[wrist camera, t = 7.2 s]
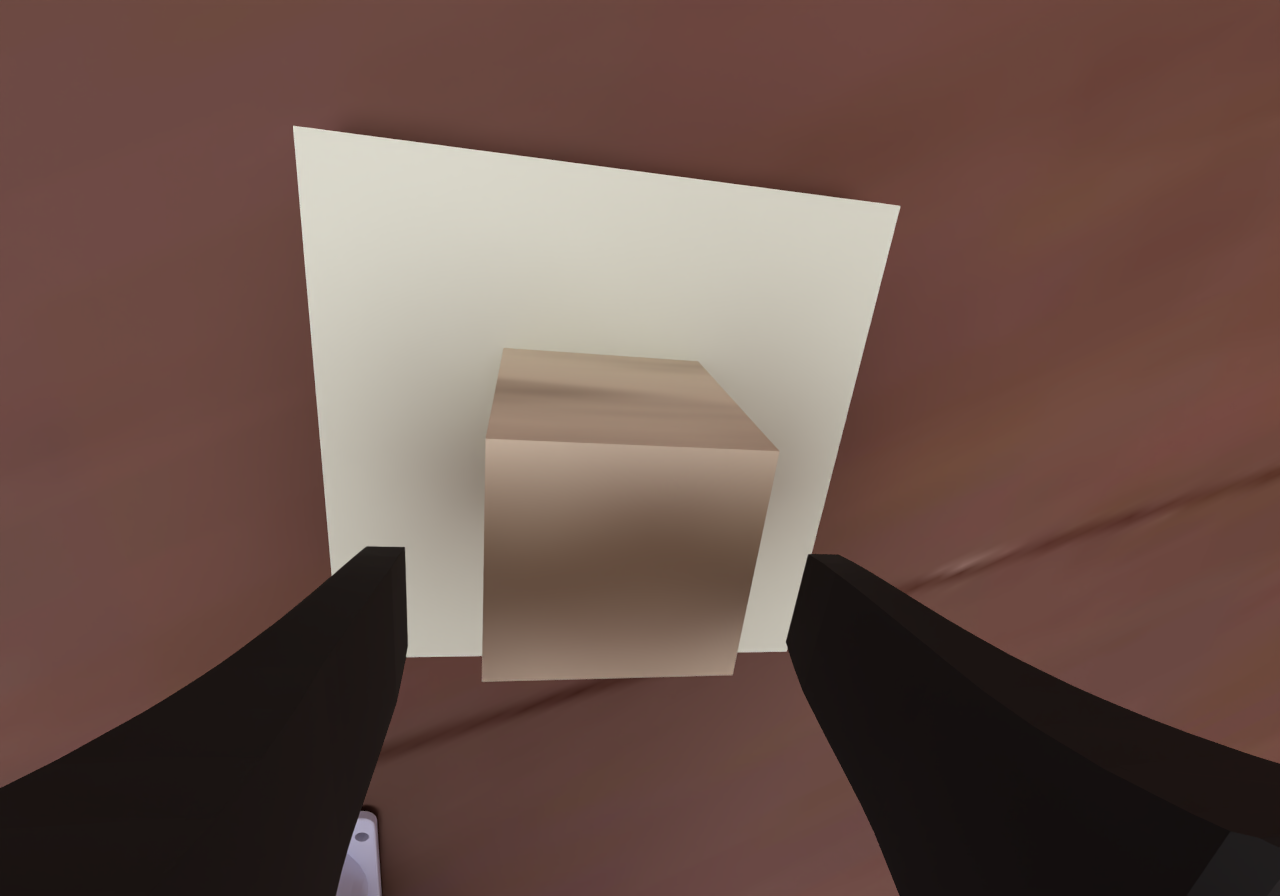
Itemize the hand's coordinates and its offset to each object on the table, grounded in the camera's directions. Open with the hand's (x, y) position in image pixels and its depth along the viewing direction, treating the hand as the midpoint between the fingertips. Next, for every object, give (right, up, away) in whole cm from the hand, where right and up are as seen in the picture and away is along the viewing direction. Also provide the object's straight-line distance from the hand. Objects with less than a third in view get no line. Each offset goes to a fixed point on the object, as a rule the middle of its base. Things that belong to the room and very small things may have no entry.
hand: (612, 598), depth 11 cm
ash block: (-1, +3, +6) cm, 6 cm away
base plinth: (-1, +4, +8) cm, 9 cm away
